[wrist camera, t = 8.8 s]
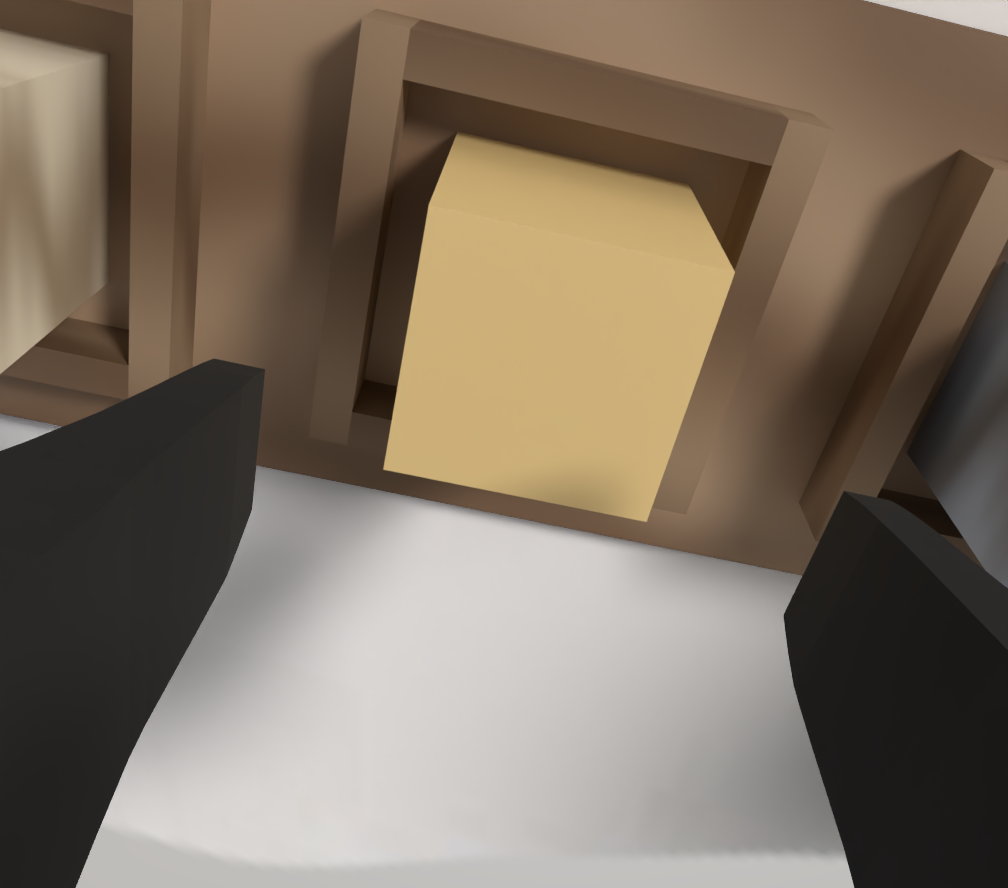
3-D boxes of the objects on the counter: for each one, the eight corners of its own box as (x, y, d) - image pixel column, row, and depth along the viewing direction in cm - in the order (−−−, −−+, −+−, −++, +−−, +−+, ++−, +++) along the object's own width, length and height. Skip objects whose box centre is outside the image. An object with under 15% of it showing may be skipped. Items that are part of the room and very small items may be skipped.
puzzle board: (1115, 616, 24) (1275, 814, 18) (-213, 345, 21) (-458, 485, 16) (1453, 148, 18) (1829, 246, 13) (-337, -302, 15) (-791, -412, 10)
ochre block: (624, 389, 20) (646, 521, 16) (418, 346, 20) (383, 469, 15) (688, 184, 18) (735, 272, 13) (457, 132, 17) (428, 204, 13)
